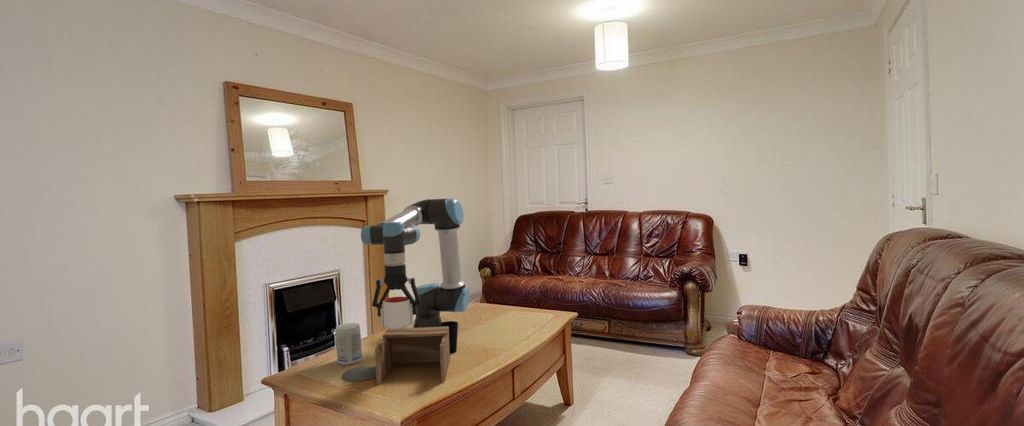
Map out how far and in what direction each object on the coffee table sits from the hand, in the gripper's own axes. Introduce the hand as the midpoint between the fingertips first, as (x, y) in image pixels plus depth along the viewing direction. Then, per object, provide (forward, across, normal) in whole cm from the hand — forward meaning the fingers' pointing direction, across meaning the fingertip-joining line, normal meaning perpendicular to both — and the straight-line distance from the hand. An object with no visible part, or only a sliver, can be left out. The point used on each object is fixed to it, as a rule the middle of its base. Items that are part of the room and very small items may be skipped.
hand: (397, 324), depth 180 cm
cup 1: (+1, 0, 0) cm, 1 cm away
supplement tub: (+20, -23, +19) cm, 36 cm away
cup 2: (+20, +17, +25) cm, 36 cm away
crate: (+19, +5, +3) cm, 20 cm away
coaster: (+19, -15, +4) cm, 25 cm away
